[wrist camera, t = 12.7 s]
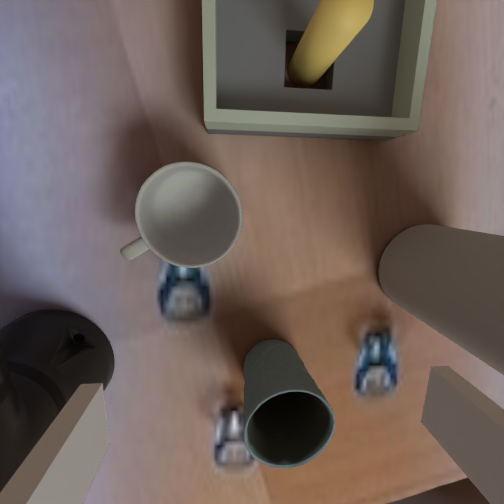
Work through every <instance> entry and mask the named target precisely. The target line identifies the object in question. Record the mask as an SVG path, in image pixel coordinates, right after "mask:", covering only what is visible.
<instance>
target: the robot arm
mask: <svg viewBox="0 0 504 504" xmlns="http://www.w3.org/2000/svg"><path fill="white" fill-rule="evenodd" d="M113 371H114V354H113V350H112V347H111V345H110V343H109V341H108V339H107V338H106V336H105V335H104V334H103V332H102V331H101V330H100V329H99V328H98V327H97V326H95V325H94V324H93V323H91V322H90V321H88V320H87V319H85V318H83V317H81V316H79V315H76V314H73V313H70V312H66V311H61V310H40V311H35V312H31V313H28V314H26V315H23V316H21V317H19V318H18V319H16V320H14V321H13V322H11V323H10V324H8V325H6V326H5V327H3V328H2V329H1V330H0V504H83V502H84V500H85V498H86V496H87V493H88V491H89V489H90V487H91V485H92V482H93V480H94V478H95V476H96V473H97V471H98V469H99V467H100V465H101V462H102V460H103V458H104V456H105V453H106V451H107V449H108V447H109V445H110V442H109V433H108V425H107V416H106V408H105V399H104V390H105V388H106V387H107V385H108V383H109V382H110V380H111V378H112V375H113ZM421 422H422V424H423V425H424V426H425V427H426V428H427V429H428V431H429V432H430V433H431V434H432V435H433V437H434V438H435V439H436V440H437V441H438V442H439V444H440V445H441V446H442V447H443V448H444V449H445V451H446V452H447V453H448V454H449V455H450V457H451V458H452V459H453V460H454V461H455V462H456V464H457V465H458V466H459V467H460V468H461V469H462V471H463V472H464V473H465V474H466V475H467V477H468V478H469V479H470V480H471V481H472V482H473V483H474V485H475V486H476V487H477V488H478V489H479V491H480V492H481V493H482V494H483V495H484V496H485V498H486V499H487V500H488V501H489V502H490V504H504V409H502V408H501V407H500V406H499V405H497V404H496V403H495V402H493V401H492V400H491V399H490V398H488V397H487V396H486V395H485V394H483V393H482V392H481V391H479V390H478V389H477V388H476V387H474V386H473V385H472V384H471V383H469V382H468V381H467V380H465V379H464V378H463V377H462V376H460V375H459V374H458V373H456V372H455V371H454V370H453V369H451V368H450V367H449V366H434V367H431V370H430V375H429V381H428V386H427V392H426V397H425V402H424V408H423V413H422V419H421Z"/></svg>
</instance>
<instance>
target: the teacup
mask: <svg viewBox="0 0 504 504" xmlns="http://www.w3.org/2000/svg"><path fill="white" fill-rule="evenodd" d="M135 220H136V225H137V228H138V230H139V233H140V235H141V237H139V238H138V239H136V240H134V241H132V242H131V243H129V244H127V245H126V246H124V247H122V248H121V249H120V252H121V255H122V256H123V257H124V258H125V259H126V260H132V259H134V258H136V257H137V256H139V255H141V254H142V253H144V252H145V251H147V250H148V249H150V250H151V251H152V252H153V253H154V254H156V255H157V256H158V257H160V258H161V259H163V260H164V261H166V262H168V263H171V264H173V265H176V266H180V267H186V268H196V267H202V266H206V265H210V264H212V263H214V262H216V261H218V260H220V259H221V258H223V257H224V256H225V255H226V254H227V253H228V252H229V251H230V250H231V249H232V248H233V246H234V245H235V243H236V241H237V239H238V237H239V234H240V232H241V227H242V208H241V203H240V200H239V197H238V195H237V193H236V190H235V189H234V187H233V186H232V184H231V183H230V182H229V180H228V179H227V178H226V177H225V176H224V175H222V174H221V173H220V172H218V171H217V170H215V169H213V168H211V167H209V166H207V165H204V164H201V163H196V162H188V161H186V162H182V161H181V162H176V163H171V164H168V165H165V166H163V167H161V168H159V169H157V170H156V171H155V172H153V174H152V175H150V176H149V177H148V178H147V179H146V181H145V182H144V183H143V184H142V186H141V188H140V190H139V192H138V195H137V198H136V202H135Z"/></svg>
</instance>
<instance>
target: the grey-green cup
mask: <svg viewBox="0 0 504 504" xmlns="http://www.w3.org/2000/svg"><path fill="white" fill-rule="evenodd" d="M244 381H245V384H244V409H245V412H244V442H245V445H246V448H247V449H248V451H249V453H250V454H251V455H252V456H253V457H254V458H255V459H256V460H258V461H259V462H261V463H263V464H265V465H267V466H270V467H275V468H292V467H296V466H300V465H303V464H305V463H308V462H309V461H311V460H312V459H314V458H316V457H317V456H318V455H319V454H320V453H321V452H322V451H323V449H324V448H325V447H326V446H327V445H328V443H329V442H330V440H331V438H332V436H333V432H334V426H335V420H334V414H333V411H332V408H331V406H330V405H329V403H328V402H327V400H326V399H325V397H324V395H323V394H322V392H321V391H320V390H319V389H318V386H317V385H316V383H315V381H314V380H313V379H312V377H311V376H310V374H309V373H308V370H307V369H306V368H305V366H304V363H303V362H302V360H301V359H300V357H299V355H298V353H297V352H296V350H295V349H294V348H293V347H292V346H291V345H290V344H288V343H286V342H284V341H282V340H276V339H271V340H265V341H262V342H260V343H258V344H256V345H255V346H254V347H253V348H252V349H251V350H250V351H249V352H248V353H247V355H246V358H245V361H244Z"/></svg>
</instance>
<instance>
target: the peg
mask: <svg viewBox="0 0 504 504" xmlns="http://www.w3.org/2000/svg"><path fill="white" fill-rule="evenodd" d="M373 6H374V0H321V1H320V3H319V5H318V7H317V9H316V10H315V12H314V14H313V16H312V18H311V20H310V22H309V24H308V26H307V28H306V30H305V32H304V34H303V36H302V38H301V40H300V42H299V44H298V46H297V48H296V50H295V52H294V54H293V56H292V58H291V60H290V62H289V65H288V74H289V77H290V79H291V81H292V82H293V84H294V85H296V86H297V87H300V88H309V87H311V86H313V85H314V84H315V83H316V82H317V81H318V80H319V78H320V77H321V76H322V75H323V74H324V73H325V71H326V70H327V69H328V68H329V67H330V66H331V64H332V63H333V62H334V61H335V60H336V58H337V57H338V56H339V55H340V54H341V53H342V51H343V50H344V49H345V48H346V47H347V46H348V44H349V43H350V42H351V41H352V40H353V38H354V37H355V36H356V35H357V34H358V33H359V31H360V30H361V29H362V28H363V27H364V26H365V24H366V23H367V22H368V20H369V19H370V17H371V14H372V11H373Z"/></svg>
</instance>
